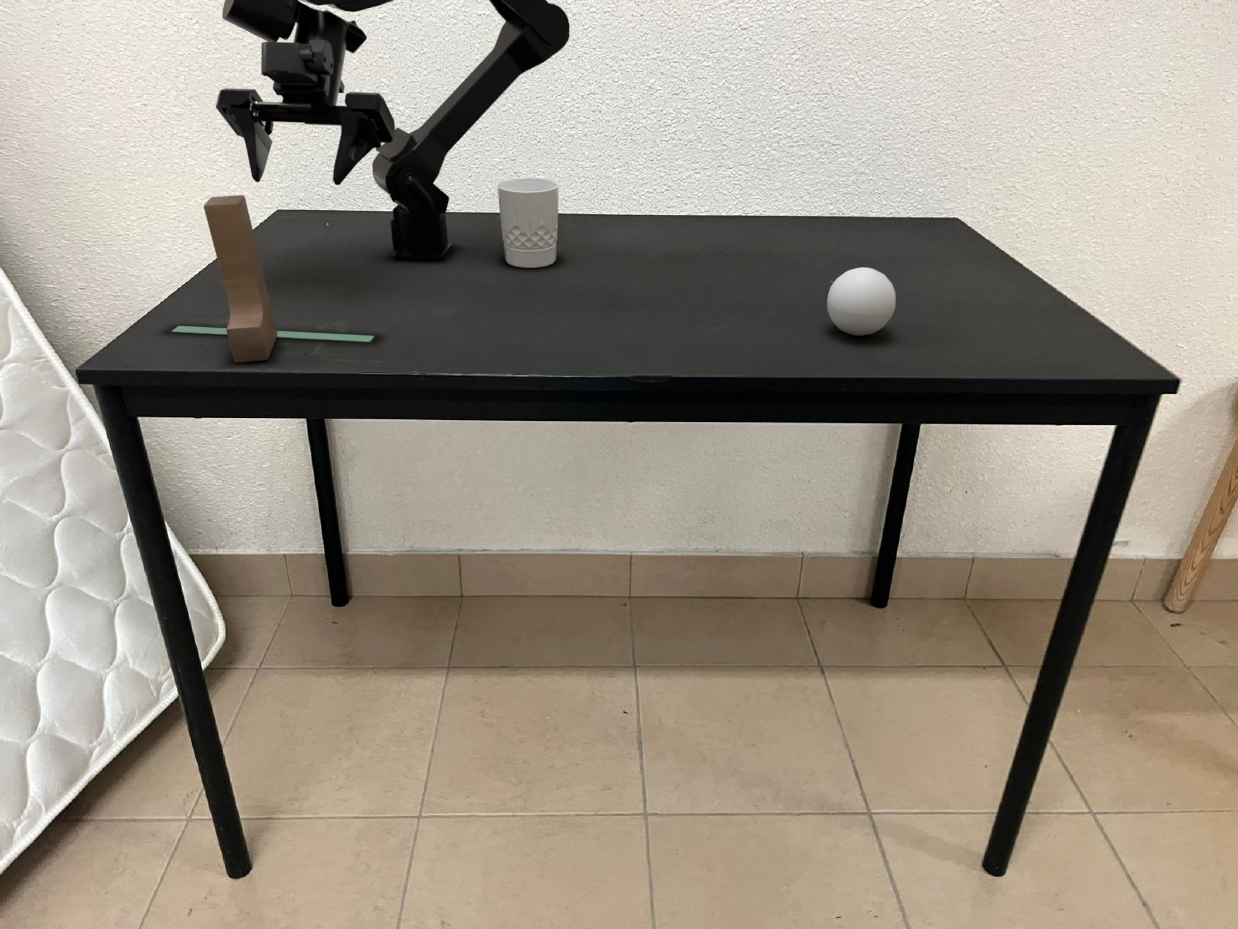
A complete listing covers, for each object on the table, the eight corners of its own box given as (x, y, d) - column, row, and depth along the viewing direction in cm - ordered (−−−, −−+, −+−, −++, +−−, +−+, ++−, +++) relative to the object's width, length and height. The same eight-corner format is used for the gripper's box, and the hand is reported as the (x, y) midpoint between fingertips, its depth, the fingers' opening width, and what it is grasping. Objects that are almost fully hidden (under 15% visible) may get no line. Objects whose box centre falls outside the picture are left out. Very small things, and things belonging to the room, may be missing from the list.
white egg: (901, 344, 97) (914, 279, 93) (836, 347, 96) (846, 281, 92) (865, 311, 105) (876, 249, 101) (805, 313, 104) (813, 252, 100)
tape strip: (374, 336, 96) (374, 335, 96) (369, 342, 95) (369, 341, 95) (179, 326, 98) (178, 325, 98) (171, 332, 96) (171, 331, 96)
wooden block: (246, 338, 95) (210, 196, 88) (278, 335, 96) (244, 194, 88) (234, 363, 90) (194, 214, 82) (268, 360, 90) (231, 211, 82)
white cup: (490, 265, 118) (485, 187, 113) (518, 248, 124) (515, 174, 119) (544, 273, 115) (542, 194, 110) (569, 255, 121) (568, 180, 116)
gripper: (204, 7, 96) (176, 134, 92) (374, 11, 95) (352, 140, 91) (250, 76, 107) (227, 193, 103) (403, 81, 105) (385, 199, 102)
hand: (295, 181), depth 99 cm, fingers open, 9 cm apart
